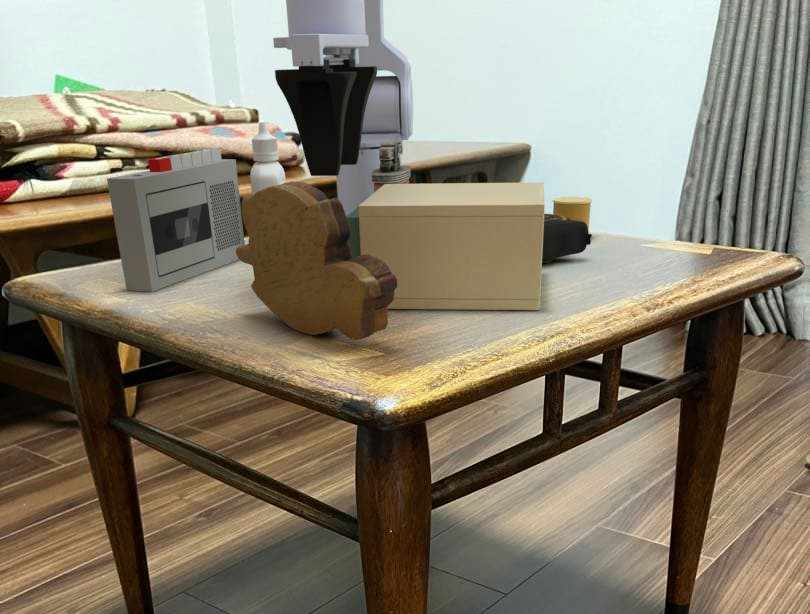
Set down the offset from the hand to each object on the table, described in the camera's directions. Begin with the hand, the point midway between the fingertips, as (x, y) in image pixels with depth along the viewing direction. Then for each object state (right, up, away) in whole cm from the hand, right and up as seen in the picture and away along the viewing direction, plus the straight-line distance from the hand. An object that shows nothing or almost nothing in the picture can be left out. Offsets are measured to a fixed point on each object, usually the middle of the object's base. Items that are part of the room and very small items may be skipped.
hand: (335, 169), depth 70 cm
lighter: (+4, 0, +20) cm, 21 cm away
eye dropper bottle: (-8, 0, +20) cm, 22 cm away
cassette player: (-15, -4, +13) cm, 20 cm away
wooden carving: (-1, -14, -6) cm, 16 cm away
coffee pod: (+23, +3, +23) cm, 33 cm away
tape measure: (+19, -3, +13) cm, 23 cm away
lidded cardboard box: (+10, -9, +3) cm, 14 cm away
